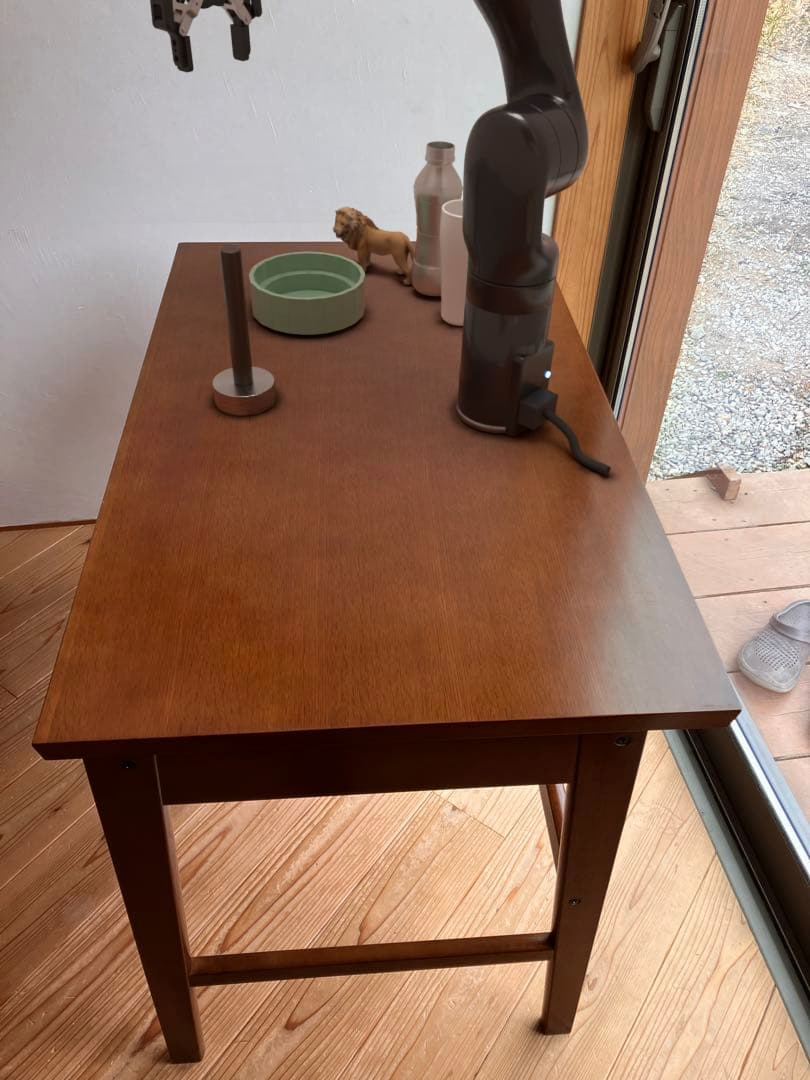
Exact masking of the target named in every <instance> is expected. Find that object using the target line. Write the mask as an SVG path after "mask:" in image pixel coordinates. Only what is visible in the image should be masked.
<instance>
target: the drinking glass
mask: <svg viewBox="0 0 810 1080" xmlns="http://www.w3.org/2000/svg"><path fill="white" fill-rule="evenodd" d="M462 216H463V198H461V199H459V200H452V201H449V202H446V203H445V204H444V205H443V206H442V210H441V220H440V273H441V296H440V299H441V300H440V303H441V304H440V317H441V318H442V320H443V321H444V322H445V323H447V324H449V325H452V326H458V327H463V321H464V308H465V295H466V283H467V270H468V251H467V248H466V245H465V241H464V237H463V229H462Z"/></svg>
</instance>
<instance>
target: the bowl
mask: <svg viewBox="0 0 810 1080" xmlns="http://www.w3.org/2000/svg"><path fill="white" fill-rule="evenodd" d="M248 281H249V295H250V304H251V312H252V317H254V319H255V320H256V321H257V322H258V323H259V324H261V325H262V326H265V327H267V328H269V329H271V330H273V331H277V332H281V333H286V334H291V335H302V336H315V335H316V336H317V335H323V334H329V333H332V332H337V331H341V330H344V329H346V328H349V327H351V326H353V325H355V324H357V322H358V321H360V319H361V318H363V317H364V314H365V311H366V273H365V272H364V270H363V268H362V267H361V266H360V263H357V261H355V260H353V259H351V258H348V257H345V256H343V255H340V254H334V253H330V252H323V251H321V252H320V251H294V252H293V251H292V252H286V253H282V254H276V255H273V256H270V257H268V258H265V259H262V260H260V261H259V262H258V263H256V264H255V265H254V266H252V267H251V269H250V271H249V273H248Z"/></svg>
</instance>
